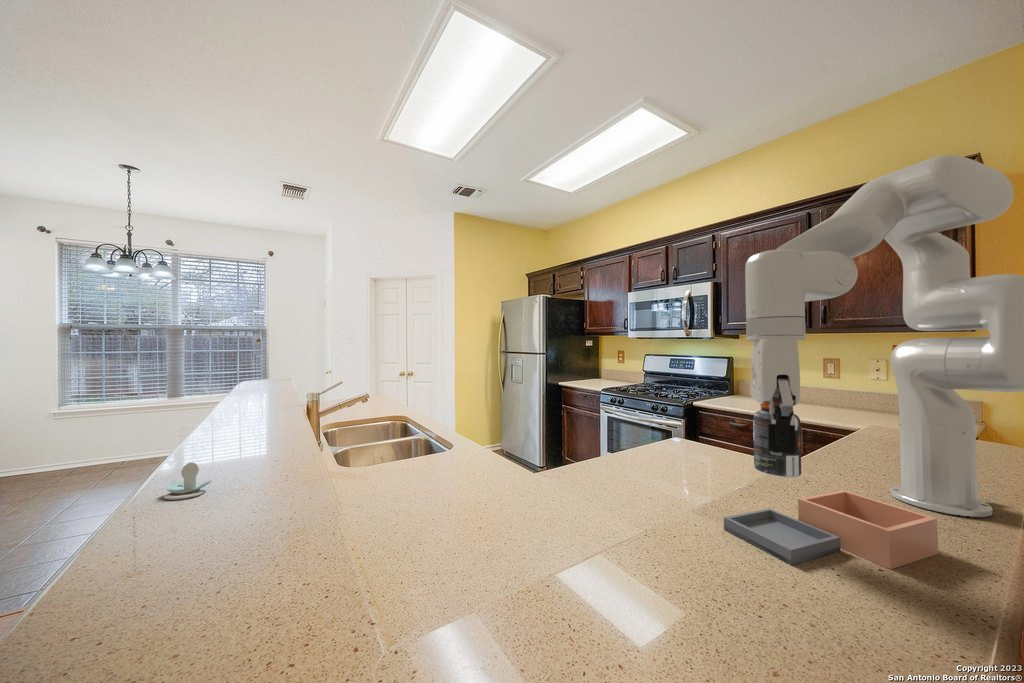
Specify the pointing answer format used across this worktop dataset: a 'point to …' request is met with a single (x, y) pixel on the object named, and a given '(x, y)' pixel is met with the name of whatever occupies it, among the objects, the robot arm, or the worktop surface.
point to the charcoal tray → (782, 535)
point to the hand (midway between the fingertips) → (776, 445)
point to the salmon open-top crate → (872, 527)
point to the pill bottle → (768, 459)
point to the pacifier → (186, 484)
